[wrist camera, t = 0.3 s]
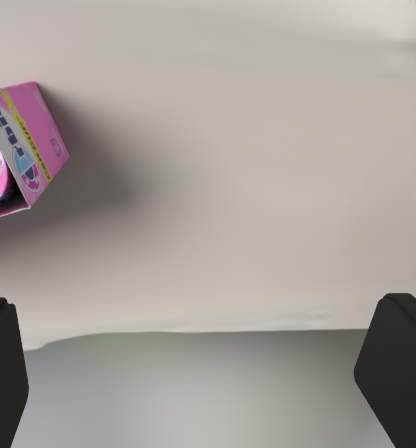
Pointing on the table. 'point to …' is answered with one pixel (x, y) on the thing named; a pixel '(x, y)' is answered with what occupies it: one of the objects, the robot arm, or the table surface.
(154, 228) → the table surface
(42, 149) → the gum box
